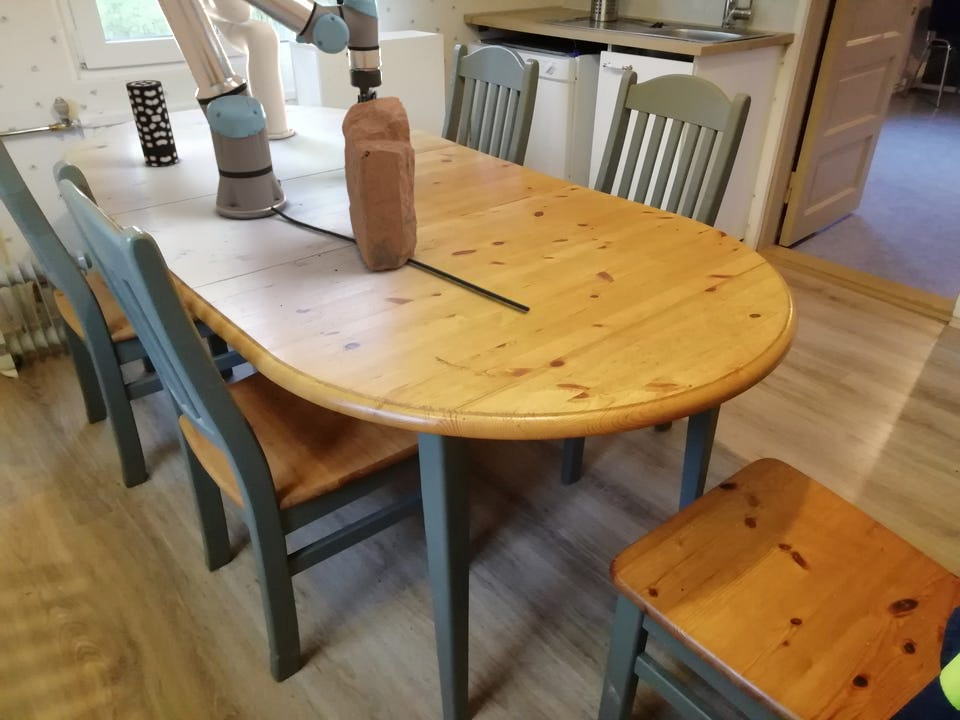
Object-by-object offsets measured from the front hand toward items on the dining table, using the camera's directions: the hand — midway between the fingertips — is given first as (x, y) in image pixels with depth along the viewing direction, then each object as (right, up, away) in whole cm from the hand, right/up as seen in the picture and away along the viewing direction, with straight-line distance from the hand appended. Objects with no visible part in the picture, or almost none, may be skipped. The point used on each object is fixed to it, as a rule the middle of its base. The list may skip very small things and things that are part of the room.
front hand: (372, 165), depth 177 cm
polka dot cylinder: (-58, +12, +4) cm, 60 cm away
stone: (+8, -28, -37) cm, 47 cm away
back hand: (-14, +60, +35) cm, 70 cm away
